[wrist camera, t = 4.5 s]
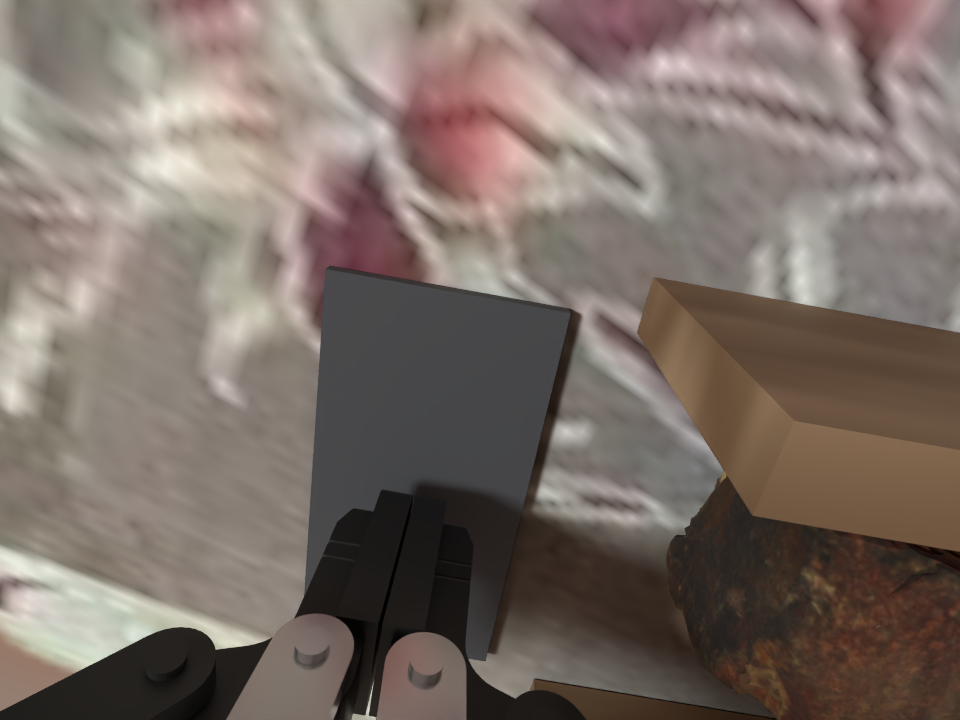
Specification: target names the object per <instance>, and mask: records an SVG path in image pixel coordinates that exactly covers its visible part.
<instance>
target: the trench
mask: <svg viewBox="0 0 960 720" xmlns="http://www.w3.org/2000/svg"><path fill="white" fill-rule="evenodd" d="M637 333H638V335H639V337H640V338H641V340H642V341H643V343H644V344H645V346H646V348H647V349H648V351H649V352H650V354H651V356H652V357H653V359H654V360H655V362H656V364H657V365H658V367H659V368H660V370H661V371H662V373H663V375H664V376H665V378H666V379H667V381H668V383H669V384H670V386H671V387H672V389H673V390H674V392H675V394H676V395H677V397H678V398H679V400H680V402H681V403H682V405H683V406H684V408H685V409H686V411H687V413H688V414H689V416H690V417H691V419H692V421H693V422H694V424H695V425H696V427H697V428H698V430H699V432H700V433H701V435H702V436H703V438H704V440H705V441H706V443H707V444H708V446H709V447H710V449H711V451H712V452H713V454H714V455H715V457H716V459H717V460H718V462H719V463H720V465H721V466H722V468H723V470H724V471H725V473H726V474H727V476H728V478H729V479H730V481H731V482H732V484H733V485H734V487H735V489H736V490H737V492H738V493H739V495H740V497H741V498H742V500H743V501H744V503H745V505H746V506H747V508H748V509H749V511H750V512H751V514H752V516H757V517H763V518H768V519H774V520H780V521H786V522H791V523H797V524H803V525H809V526H814V527H820V528H826V529H832V530H837V531H843V532H849V533H855V534H861V535H866V536H872V537H878V538H884V539H889V540H895V541H901V542H907V543H912V544H918V545H924V546H930V547H936V548H941V549H947V550H953V551H959V552H960V333H958V332H952V331H947V330H941V329H935V328H930V327H924V326H919V325H913V324H908V323H902V322H897V321H891V320H886V319H880V318H875V317H869V316H864V315H858V314H853V313H847V312H842V311H836V310H831V309H825V308H820V307H814V306H809V305H803V304H798V303H792V302H787V301H781V300H776V299H770V298H765V297H759V296H754V295H748V294H743V293H737V292H732V291H726V290H721V289H715V288H710V287H704V286H699V285H693V284H688V283H682V282H677V281H671V280H666V279H660V278H655V277H654V278H653V281H652V284H651V288H650V291H649V294H648V298H647V301H646V305H645V308H644V311H643V315H642V318H641V321H640V325H639V328H638V331H637ZM533 690H545V691H550V692H554V693H556V694H558V695H561V696H562V697H564V698H566V699H567V700H569V701H570V702H571V703H572V704H573V705H574V706H575V707H576V708H577V709H578V710H579V711H580V712H581V713H582V715H583V716H584V717H585V718H586V720H775V719H769V718H763V717H757V716H751V715H745V714H739V713H733V712H727V711H721V710H715V709H709V708H703V707H697V706H691V705H685V704H679V703H673V702H667V701H661V700H655V699H649V698H643V697H637V696H631V695H625V694H619V693H613V692H607V691H601V690H595V689H588V688H582V687H576V686H570V685H564V684H558V683H552V682H546V681H540V680H533V684H532V687H531V690H530V691H533Z"/></svg>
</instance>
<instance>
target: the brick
mask: <svg viewBox="0 0 960 720" xmlns="http://www.w3.org/2000/svg"><path fill="white" fill-rule="evenodd" d="M685 532H686V535H676V536H675V537H674V538H673V540H672V541H671V543H670V546H669V549H668V552H667V568H668V574H669V577H668V585H669V591H670V594H671V596H672V598H673V600H674V603H675V605H676V607H678V608H679V609H680V610H682V613H683V615H684V617H685V620H686V624H687V629H688V633H689V637H690V639H691V642H692V644H693V646H694V648H695V650H696V652H697V654H698V656H699V658H700V660H701V661H702V663H703V665H704V667H705V668H706V669H707V670H709V671H710V672H711V673H712V674H713V675H714V676H715V677H717V678H718V679H719V680H720V681H721V682H723V683H724V684H725V685H727V686H728V687H730V688H731V689H733V690H734V691H735V692H736V693H737V694H738V695H739V694H743V693H747V694H749V695H750V696H752V697H754V698H756V699H757V700H759V701H760V702H762V703H763V704H764V705H765V706H766V707H767V708H768V709H769V710H770V711H771V713H772V714H773V715H774V716H775V717H776V718H777V720H960V552H959V551H953V550H947V549H941V548H936V547H930V546H924V545H918V544H912V543H907V542H901V541H895V540H889V539H884V538H878V537H872V536H866V535H861V534H855V533H849V532H843V531H837V530H832V529H826V528H820V527H814V526H809V525H803V524H797V523H791V522H786V521H780V520H774V519H768V518H763V517H757V516H752V514H751V512H750V511H749V509H748V508H747V506H746V505H745V503H744V501H743V500H742V498H741V497H740V495H739V493H738V492H737V490H736V489H735V487H734V485H733V484H732V482H731V481H730V479H729V478H728V476H727V474H726V473H725V471H723V473H722V475H721V477H720V478H718V479H717V484H716V485H715V490H714V491H713V492H712V494H711V495H710V496H709V498H708V499H707V501H706V502H705V504H704V505H703V507H702V508H700V511H699V512H698V514H697V515H696V516H694V517H693V518H691V522H690V526H688V527H686V528H685Z"/></svg>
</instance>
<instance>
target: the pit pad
mask: <svg viewBox="0 0 960 720" xmlns="http://www.w3.org/2000/svg"><path fill="white" fill-rule="evenodd" d="M570 315H571V312H570V309H568V308H562V307H557V306H551V305H545V304H540V303H534V302H529V301H523V300H518V299H512V298H507V297H501V296H495V295H490V294H484V293H479V292H473V291H468V290H462V289H456V288H451V287H445V286H440V285H434V284H429V283H423V282H418V281H412V280H406V279H401V278H395V277H390V276H384V275H379V274H373V273H367V272H362V271H356V270H351V269H345V268H340V267H334V266H329V267H328V268H326V270H325V285H324V300H323V316H322V331H321V347H320V362H319V377H318V393H317V408H316V423H315V439H314V454H313V470H312V485H311V500H310V516H309V531H308V546H307V562H306V577H305V593H304V596H305V594H306V591H307V589H308V587H309V585H310V582H311V580H312V578H313V576H314V573H315V571H316V569H317V566H318V564H319V562H320V560H321V558H322V556H323V553H324V551H325V548H326V546H327V544H328V543H329V539H330V537H331V535H332V532H333V530H334V528H335V526H336V523H337V521H339V520H340V519H341V518H342V517H343V516H344V515H346V514H347V513H348V512H349V511H350V510H352V509H353V508H356V509H362V510H368V511H374V508H375V505H376V503H377V500H378V497H379V494H380V492H381V490H382V489H383V490H389V491H394V492H400V493H406V494H411V495H413V502H412V507H413V504H414V500H415V496H416V495H418V496H423V497H429V498H435V499H440V500H446V501H447V503H446V509H445V515H444V521H443V524H448V525H453V526H459V527H465V528H466V529H467V531H468V534H469V536H470V538H471V540H472V543H473V545H474V549H473V560H472V572H471V581H470V595H469V607H468V618H467V630H466V641H465V648H466V654H467V657H468V658H469V659H475V660H481V661H486V657H487V653H488V648H489V644H490V640H491V636H492V632H493V628H494V624H495V620H496V616H497V612H498V608H499V604H500V600H501V596H502V592H503V587H504V583H505V579H506V575H507V571H508V567H509V563H510V559H511V555H512V551H513V547H514V543H515V539H516V535H517V530H518V526H519V522H520V518H521V514H522V510H523V506H524V502H525V498H526V494H527V490H528V486H529V482H530V478H531V473H532V469H533V465H534V461H535V457H536V453H537V449H538V445H539V441H540V437H541V433H542V429H543V425H544V421H545V416H546V412H547V408H548V404H549V400H550V396H551V392H552V388H553V384H554V380H555V376H556V372H557V368H558V364H559V360H560V355H561V351H562V347H563V343H564V339H565V335H566V331H567V327H568V323H569V319H570ZM411 511H412V509H411Z"/></svg>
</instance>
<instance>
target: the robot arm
mask: <svg viewBox="0 0 960 720" xmlns="http://www.w3.org/2000/svg"><path fill="white" fill-rule="evenodd" d="M412 502H413V495H411V494H406V493H400V492H394V491H389V490H383V489H382V490H381V492H380V494H379V497H378V500H377V503H376V505H375V508H374V511H368V510H362V509H356V508H353V509H352V510H350V511H349V512H348V513H347V514H346V515H344V516H343V517H342V518H341V519H340V520H339V521H337V523H336V526H335V528H334V530H333V532H332V535H331V537H330V539H329V543H328V544H327V546H326V548H325V551H324V553H323V556H322V558H321V560H320V562H319V564H318V566H317V569H316V571H315V573H314V576H313V578H312V580H311V582H310V585H309V587H308V589H307V591H306V594H305V596H304V598H303V600H302V603H301V605H300V607H299V610H298V612H297V614H296V616H295V617H294V619H292V620H290V621H289V622H287V623H286V624H284V625H283V626H282V627H281V628H280V629H279V630H278V631H277V632H276V633H275V635H274V636H273V637H272V638H271V639H268V640H266V641H264V642H261V643H258V644H254V645H249V646H243V647H235V648H226V649H218V650H215V646H214V644H213V642H212V640H211V639H210V638H209V637H208V636H207V635H206V634H204V633H203V632H201V631H199V630H196V629H192V628H184V627H179V628H170V629H165V630H162V631H159V632H156V633H153V634H151V635H149V636H147V637H145V638H143V639H141V640H139V641H137V642H135V643H133V644H131V645H129V646H127V647H125V648H123V649H121V650H119V651H117V652H116V653H114V654H112V655H110V656H108V657H106V658H104V659H102V660H100V661H98V662H96V663H94V664H92V665H90V666H88V667H86V668H84V669H82V670H80V671H78V672H76V673H74V674H72V675H71V676H69V677H67V678H65V679H63V680H61V681H59V682H57V683H55V684H53V685H51V686H49V687H47V688H45V689H43V690H41V691H39V692H37V693H36V694H33V695H31V696H29V697H27V698H25V699H24V700H22V701H20V702H18V703H16V704H14V705H12V706H10V707H8V708H6V709H4V710H2V711H0V720H351V718H352V715H353V713H354V714H360V715H365V714H366V710H367V706H368V702H369V698H370V694H371V690H372V686H373V691H372V698H371V705H370V711H369V716H373V717H376V720H586V718H585V717H584V716H583V715H582V713H581V712H580V711H579V710H578V709H577V708H576V707H575V706H574V705H573V704H572V703H571V702H570V701H569V700H567V699H566V698H564V697H562V696H561V695H558V694H556V693H554V692H550V691H545V690H533V691H528V692H526V693H523V694H521V695H520V696H519V697H517V698H516V699H515V698H513V697H511V696H509V695H507V694H505V693H503V692H501V691H499V690H497V689H496V688H494V687H492V686H491V685H489V684H488V683H486V682H485V681H484V680H483V679H482V678H481V677H480V676H479V675H478V674H477V673H476V672H475V670H474V669H473V668H472V666H471V664H470V662H469V660H468V657H467V654H466V648H465V641H466V630H467V618H468V607H469V595H470V581H471V572H472V560H473V549H474V545H473V543H472V540H471V538H470V536H469V534H468V531H467V529H466V528H465V527H459V526H453V525H448V524H443V521H444V515H445V509H446V503H447V501H446V500H440V499H435V498H429V497H423V496H418V495H416V496H415V500H414V504H413V507H412ZM411 509H412V511H411ZM373 682H374V684H373Z"/></svg>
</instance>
